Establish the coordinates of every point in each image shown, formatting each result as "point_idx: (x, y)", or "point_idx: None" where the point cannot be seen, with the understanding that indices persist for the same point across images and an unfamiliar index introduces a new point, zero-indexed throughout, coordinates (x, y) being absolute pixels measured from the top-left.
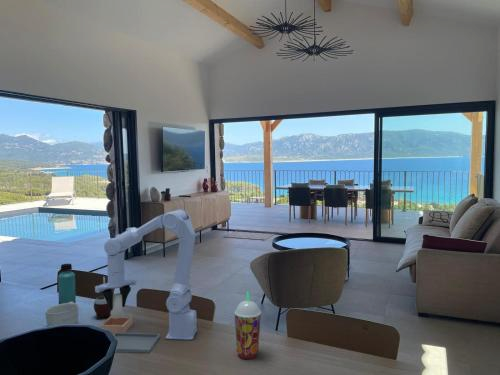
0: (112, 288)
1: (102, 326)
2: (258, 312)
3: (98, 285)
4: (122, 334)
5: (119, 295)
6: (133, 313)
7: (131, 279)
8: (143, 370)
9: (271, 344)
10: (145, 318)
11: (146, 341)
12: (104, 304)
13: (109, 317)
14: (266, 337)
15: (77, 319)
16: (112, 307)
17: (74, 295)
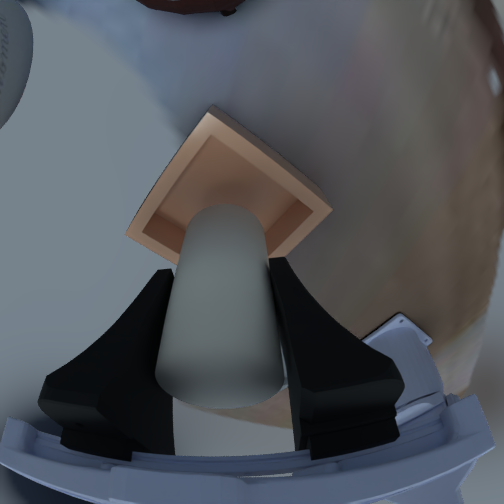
0: (168, 465)
1: (139, 240)
2: None
3: (16, 471)
4: None
5: (243, 401)
6: (396, 24)
7: (465, 460)
8: (225, 416)
9: None
10: (412, 143)
11: (283, 358)
12: (175, 2)
13: (199, 126)
14: (456, 385)
15: (18, 84)
16: None
17: None
